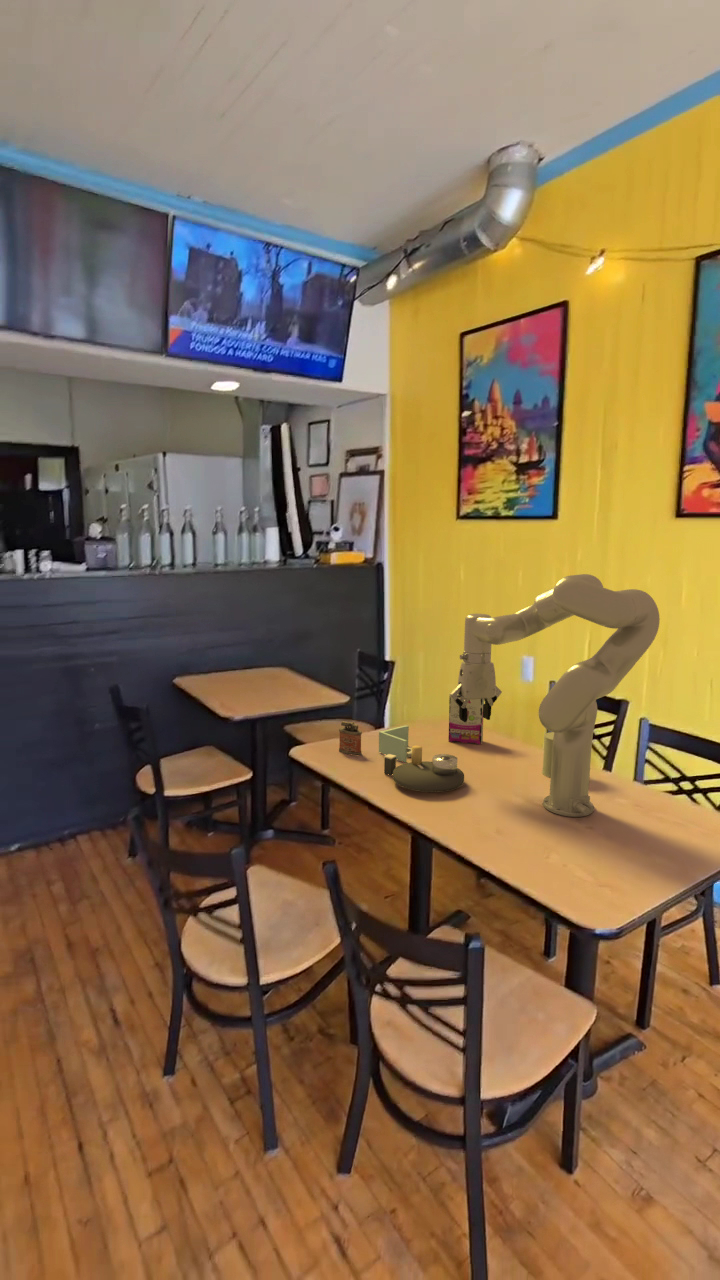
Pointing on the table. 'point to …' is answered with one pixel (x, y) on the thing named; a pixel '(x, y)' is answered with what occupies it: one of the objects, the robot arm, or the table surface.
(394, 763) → the post
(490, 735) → the table surface
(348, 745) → the lighter
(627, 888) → the table surface
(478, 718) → the candy bar box
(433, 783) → the turntable
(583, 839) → the table surface
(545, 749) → the can
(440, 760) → the cover
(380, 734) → the l-shaped corner panel
